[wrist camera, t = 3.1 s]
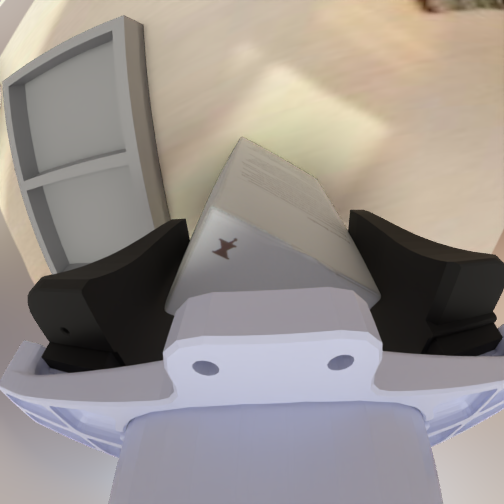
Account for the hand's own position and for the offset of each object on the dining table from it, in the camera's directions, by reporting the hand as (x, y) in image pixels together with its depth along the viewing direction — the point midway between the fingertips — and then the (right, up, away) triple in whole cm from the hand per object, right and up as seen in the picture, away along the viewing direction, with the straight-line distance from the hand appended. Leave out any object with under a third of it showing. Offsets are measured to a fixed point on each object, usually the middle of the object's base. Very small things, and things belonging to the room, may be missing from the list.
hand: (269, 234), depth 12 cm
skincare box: (0, +4, +7) cm, 8 cm away
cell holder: (-13, +2, +8) cm, 15 cm away
